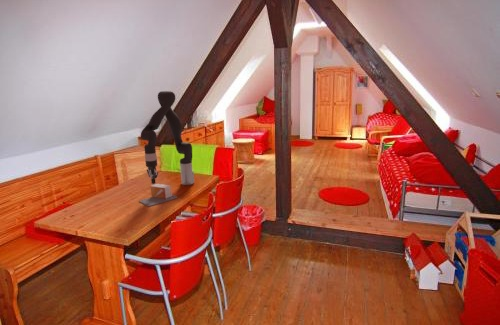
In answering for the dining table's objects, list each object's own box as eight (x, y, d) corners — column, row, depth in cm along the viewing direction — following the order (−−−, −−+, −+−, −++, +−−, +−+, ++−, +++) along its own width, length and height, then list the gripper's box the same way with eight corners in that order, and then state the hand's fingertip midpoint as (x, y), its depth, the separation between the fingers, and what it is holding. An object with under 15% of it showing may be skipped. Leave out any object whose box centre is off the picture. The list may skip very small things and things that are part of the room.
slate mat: (167, 193, 223) (167, 192, 222) (178, 197, 213) (178, 197, 213) (139, 201, 208) (138, 200, 208) (148, 206, 198) (148, 206, 198)
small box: (150, 186, 213) (164, 188, 207) (156, 183, 218) (170, 185, 213) (151, 196, 215) (165, 199, 209) (157, 194, 220) (171, 196, 215)
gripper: (160, 159, 205) (163, 184, 209) (151, 157, 214) (154, 180, 219) (150, 161, 200) (153, 187, 204) (141, 158, 209) (144, 182, 214)
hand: (153, 183), depth 212 cm, fingers closed
